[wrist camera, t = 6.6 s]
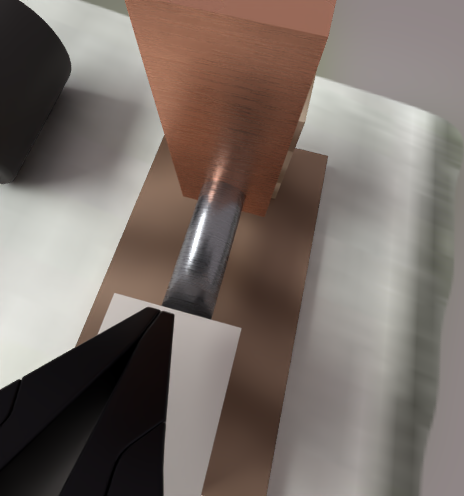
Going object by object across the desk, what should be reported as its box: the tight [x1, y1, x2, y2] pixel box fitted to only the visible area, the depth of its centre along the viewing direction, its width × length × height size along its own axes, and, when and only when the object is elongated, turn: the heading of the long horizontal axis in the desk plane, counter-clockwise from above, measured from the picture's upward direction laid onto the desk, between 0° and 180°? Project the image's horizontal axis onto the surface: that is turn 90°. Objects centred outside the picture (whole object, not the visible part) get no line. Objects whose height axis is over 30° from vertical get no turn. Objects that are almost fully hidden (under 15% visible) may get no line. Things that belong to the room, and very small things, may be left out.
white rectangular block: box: [98, 293, 241, 496], centre depth 12 cm, size 8×5×6 cm, turn 165°
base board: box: [75, 135, 328, 496], centre depth 17 cm, size 22×12×1 cm, turn 165°
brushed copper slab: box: [125, 0, 336, 320], centre depth 11 cm, size 13×5×10 cm, turn 165°
